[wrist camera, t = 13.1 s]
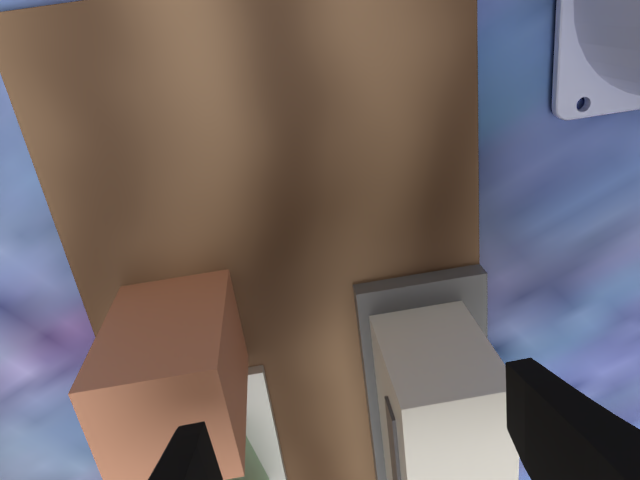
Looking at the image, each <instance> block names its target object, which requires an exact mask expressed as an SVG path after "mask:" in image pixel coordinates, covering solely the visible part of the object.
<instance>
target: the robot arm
mask: <svg viewBox="0 0 640 480" xmlns="http://www.w3.org/2000/svg"><path fill="white" fill-rule="evenodd" d="M583 97H584V100H585V103H584V106H583V107H582V108H581V109H578V110H577V107H576V105H577V102H578V101H579V99H580V98H583ZM638 109H640V0H557V2H556V23H555V45H554V66H553V88H552V112H553V114H554V115H555V116H556V117H558V118H560V119H562V120H574V119H580V118H586V117H593V116H599V115H606V114H612V113H619V112H625V111H632V110H638ZM506 414H507V430H508V432H509V434H510V437H511V439H512V441H513V444H514V446H515V448H516V450H517V453H518V455H519V457H520V459H521V461H522V463H523V465H524V468H525V469H526V471H527V473H528V475H529V476H530V478H531V480H640V429H638V428H636V427H635V426H633V425H631V424H629V423H628V422H626V421H624V420H623V419H621V418H620V417H618V416H616V415H615V414H613V413H612V412H610V411H608V410H607V409H605V408H604V407H602V406H601V405H599V404H598V403H596V402H594V401H593V400H591V399H590V398H588V397H587V396H585V395H584V394H582V393H581V392H579V391H578V390H577V389H575V388H574V387H572V386H571V385H569V384H568V383H566V382H565V381H563V380H562V379H561V378H559V377H558V376H556V375H555V374H553V373H552V372H551V371H549V370H548V369H546V368H545V367H543V366H542V365H541V364H539V363H538V362H536V361H535V360H533V359H532V358H527V359H521V360H516V361H511V362H506ZM148 480H223V477H222V474H221V471H220V468H219V465H218V462H217V459H216V455H215V452H214V449H213V446H212V443H211V440H210V437H209V434H208V431H207V427H206V424H205V421H203V422H198V423H192V424H187V425H182V426H179V427H178V428H177V429H176V430H175V432H174V434H173V436H172V438H171V439H170V441H169V443H168V445H167V447H166V449H165V450H164V452H163V454H162V456H161V458H160V459H159V461H158V463H157V465H156V466H155V468H154V470H153V472H152V473H151V475H150V477H149V479H148Z"/></svg>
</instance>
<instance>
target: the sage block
mask: <svg viewBox="0 0 640 480" xmlns="http://www.w3.org/2000/svg"><path fill="white" fill-rule="evenodd" d="M226 480H269V477H268V475H267V473H266V472H265V470H264V468H263V466H262V464H261V462H260V460H259V458H258V457H257V455H256V453H255V451H254V449H253V447H252V445H251V443H250V442H249V440H248V438H247V436H246V446H245V476H243V477H238V478H232V479H226Z"/></svg>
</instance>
